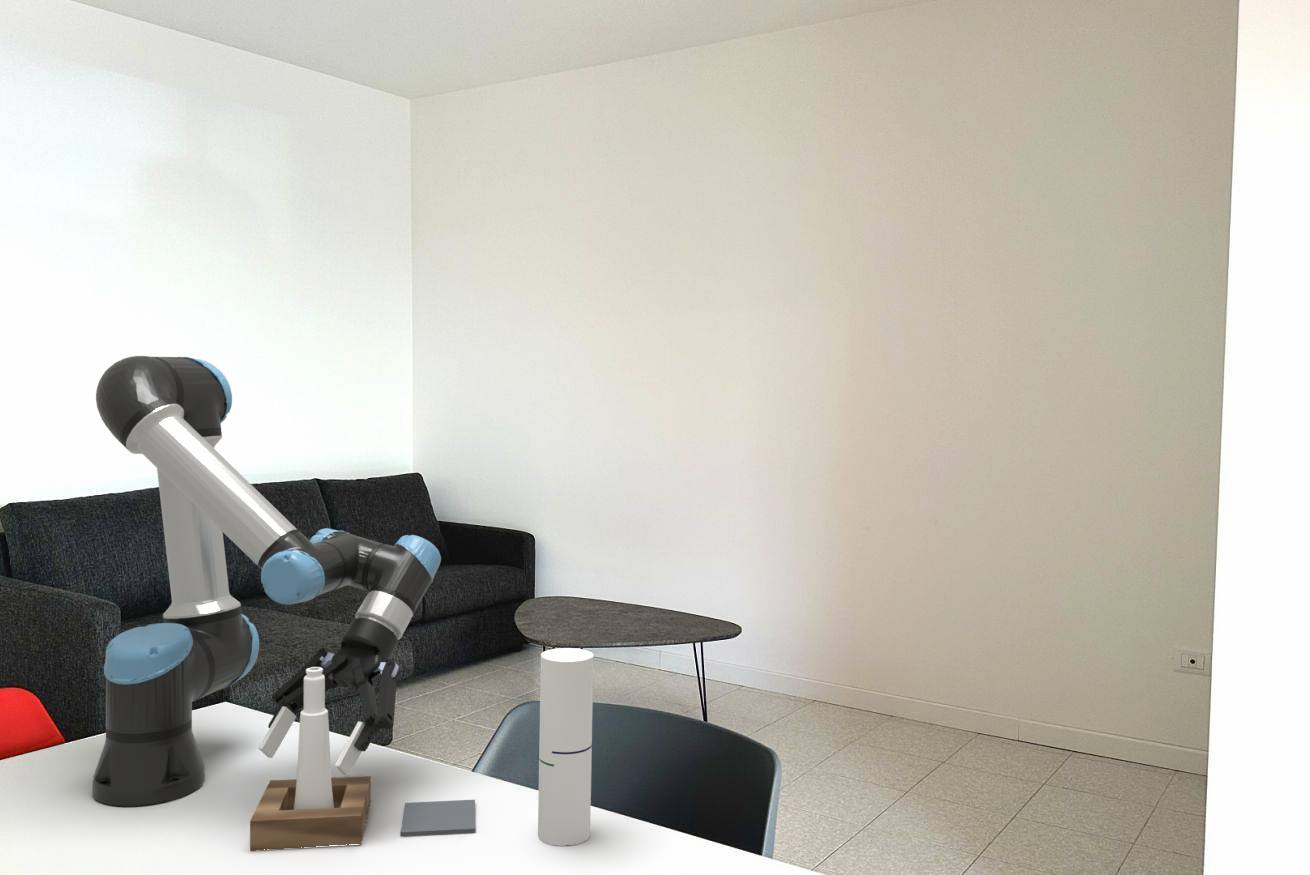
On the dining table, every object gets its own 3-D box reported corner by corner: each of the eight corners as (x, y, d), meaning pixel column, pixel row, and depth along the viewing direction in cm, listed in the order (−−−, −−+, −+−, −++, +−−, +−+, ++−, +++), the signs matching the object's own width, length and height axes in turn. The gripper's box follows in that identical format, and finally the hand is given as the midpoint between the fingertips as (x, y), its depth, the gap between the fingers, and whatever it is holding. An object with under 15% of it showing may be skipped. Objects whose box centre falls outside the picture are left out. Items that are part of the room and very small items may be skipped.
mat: (405, 806, 153) (405, 802, 153) (475, 803, 155) (475, 799, 155) (400, 836, 143) (400, 832, 143) (475, 832, 145) (475, 828, 145)
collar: (270, 807, 152) (270, 780, 151) (370, 802, 154) (370, 776, 154) (250, 851, 138) (250, 821, 138) (360, 845, 140) (361, 815, 140)
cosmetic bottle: (317, 838, 142) (317, 677, 141) (281, 830, 144) (281, 671, 143) (345, 821, 148) (346, 666, 146) (310, 813, 150) (311, 660, 149)
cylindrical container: (582, 848, 141) (585, 663, 139) (531, 842, 142) (533, 659, 141) (595, 826, 148) (599, 650, 146) (546, 821, 149) (549, 646, 148)
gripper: (456, 654, 153) (388, 791, 141) (323, 633, 164) (249, 758, 151) (434, 625, 148) (362, 764, 136) (299, 605, 159) (219, 733, 146)
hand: (302, 762), depth 143 cm, fingers open, 13 cm apart
